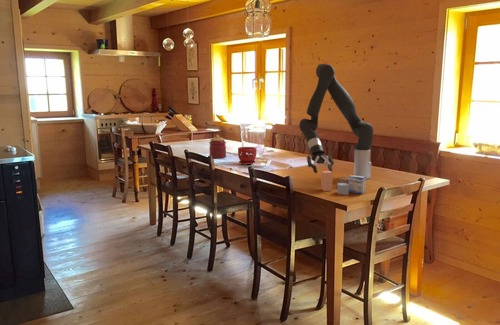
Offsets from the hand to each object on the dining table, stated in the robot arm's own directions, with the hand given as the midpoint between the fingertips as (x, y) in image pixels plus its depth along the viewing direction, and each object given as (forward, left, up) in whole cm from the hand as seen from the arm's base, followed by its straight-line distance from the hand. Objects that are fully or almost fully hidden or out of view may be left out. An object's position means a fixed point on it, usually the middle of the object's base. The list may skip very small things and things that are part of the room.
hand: (323, 172), depth 231 cm
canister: (+37, -115, -9) cm, 121 cm away
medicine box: (-13, +13, -9) cm, 20 cm away
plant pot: (+22, -81, -9) cm, 85 cm away
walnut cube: (-13, +1, -9) cm, 16 cm away
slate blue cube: (-5, +13, -9) cm, 16 cm away
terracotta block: (0, +4, -9) cm, 10 cm away
